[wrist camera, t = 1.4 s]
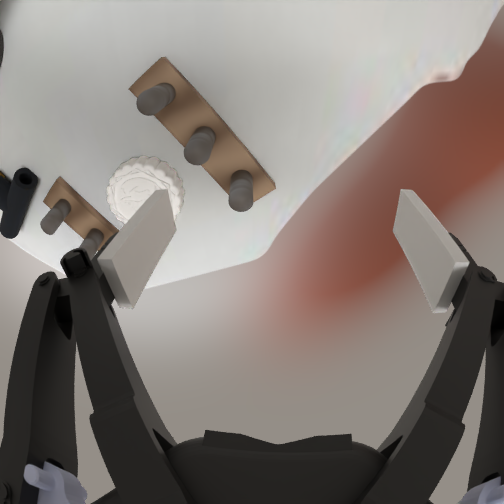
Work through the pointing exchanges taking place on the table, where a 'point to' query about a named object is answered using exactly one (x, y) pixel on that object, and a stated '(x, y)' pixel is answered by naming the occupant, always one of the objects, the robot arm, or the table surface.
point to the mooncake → (142, 186)
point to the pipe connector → (15, 200)
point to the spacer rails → (196, 152)
